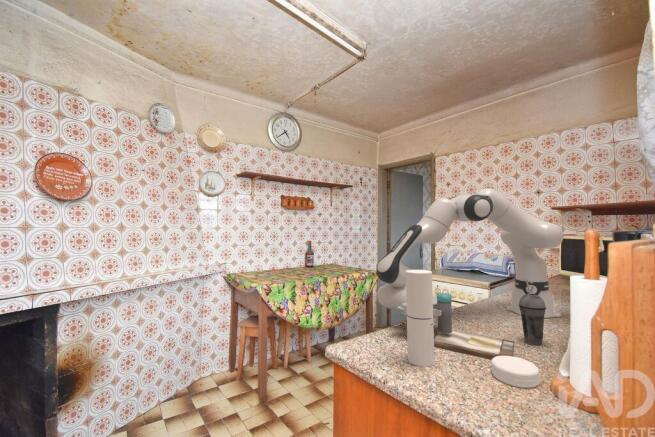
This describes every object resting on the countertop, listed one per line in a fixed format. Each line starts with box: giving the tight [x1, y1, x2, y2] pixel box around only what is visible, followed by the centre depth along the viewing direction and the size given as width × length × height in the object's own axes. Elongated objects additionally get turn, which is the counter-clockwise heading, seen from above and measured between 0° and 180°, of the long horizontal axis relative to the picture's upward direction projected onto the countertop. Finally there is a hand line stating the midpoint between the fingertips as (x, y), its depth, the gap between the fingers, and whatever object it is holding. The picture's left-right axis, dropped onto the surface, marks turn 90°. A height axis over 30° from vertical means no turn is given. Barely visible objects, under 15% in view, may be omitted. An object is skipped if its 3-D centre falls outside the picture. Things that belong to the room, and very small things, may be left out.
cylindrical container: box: [406, 269, 435, 368], centre depth 81 cm, size 7×7×25 cm
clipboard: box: [434, 329, 515, 361], centre depth 90 cm, size 15×22×2 cm
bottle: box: [436, 292, 453, 333], centre depth 95 cm, size 5×5×12 cm
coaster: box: [490, 356, 540, 389], centre depth 71 cm, size 10×10×4 cm
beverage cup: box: [519, 280, 546, 346], centre depth 92 cm, size 7×7×20 cm
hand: (446, 311), depth 94 cm, fingers closed on bottle, 4 cm apart
